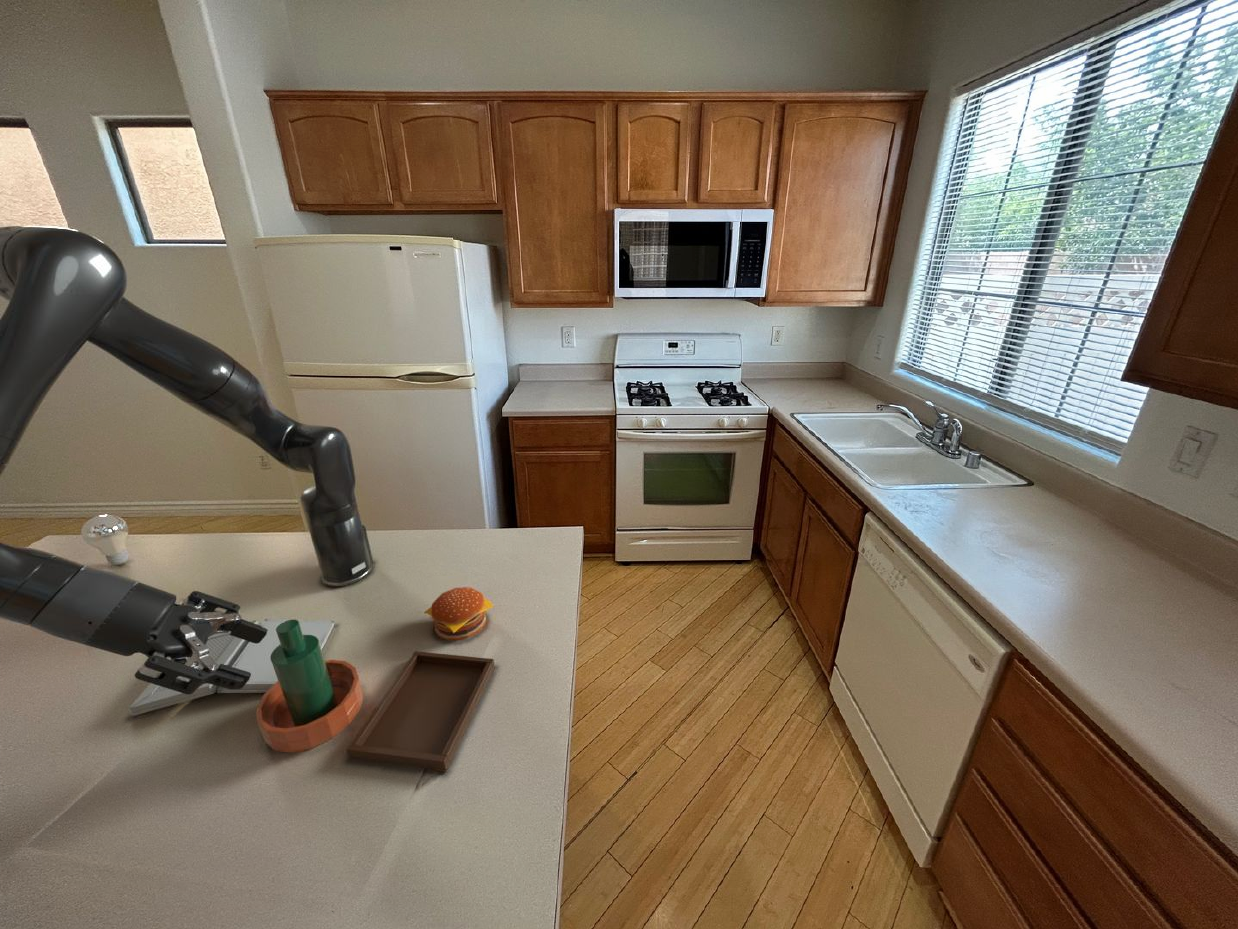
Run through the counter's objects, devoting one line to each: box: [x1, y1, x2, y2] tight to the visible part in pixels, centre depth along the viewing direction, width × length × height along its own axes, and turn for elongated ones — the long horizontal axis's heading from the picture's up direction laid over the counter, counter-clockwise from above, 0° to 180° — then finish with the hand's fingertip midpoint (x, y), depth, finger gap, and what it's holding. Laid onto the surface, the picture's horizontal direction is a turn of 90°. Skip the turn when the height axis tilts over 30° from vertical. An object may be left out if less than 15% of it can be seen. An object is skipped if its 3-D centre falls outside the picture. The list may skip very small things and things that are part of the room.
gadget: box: [128, 618, 335, 717], centre depth 77 cm, size 23×15×4 cm, turn 102°
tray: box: [346, 650, 496, 773], centre depth 70 cm, size 18×14×2 cm
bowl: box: [255, 659, 365, 754], centre depth 69 cm, size 12×12×4 cm
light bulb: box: [80, 514, 130, 566], centre depth 102 cm, size 7×7×12 cm
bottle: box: [270, 619, 338, 727], centre depth 66 cm, size 6×6×16 cm
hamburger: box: [423, 586, 495, 641], centre depth 86 cm, size 9×10×7 cm
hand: (255, 658), depth 63 cm, fingers open, 8 cm apart
